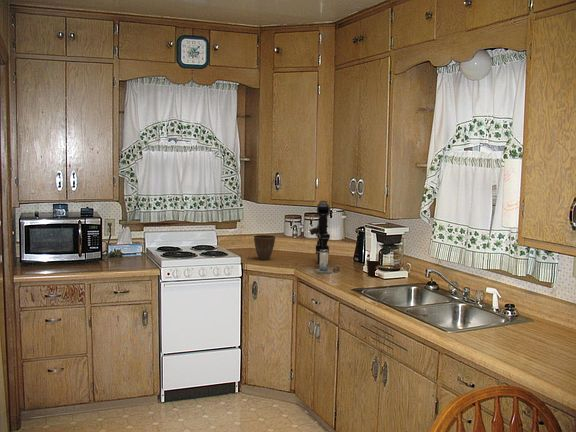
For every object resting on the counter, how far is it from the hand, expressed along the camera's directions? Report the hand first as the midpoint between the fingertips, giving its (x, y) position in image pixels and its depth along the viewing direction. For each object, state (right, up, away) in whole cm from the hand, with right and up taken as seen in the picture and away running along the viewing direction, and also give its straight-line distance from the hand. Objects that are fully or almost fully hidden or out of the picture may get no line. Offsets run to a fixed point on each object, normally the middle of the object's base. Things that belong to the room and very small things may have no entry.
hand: (322, 247), depth 388 cm
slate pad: (0, -15, -16) cm, 21 cm away
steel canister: (0, -14, -16) cm, 21 cm away
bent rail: (+8, -15, -12) cm, 20 cm away
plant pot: (-39, -10, +25) cm, 47 cm away
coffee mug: (+31, -16, -24) cm, 42 cm away
